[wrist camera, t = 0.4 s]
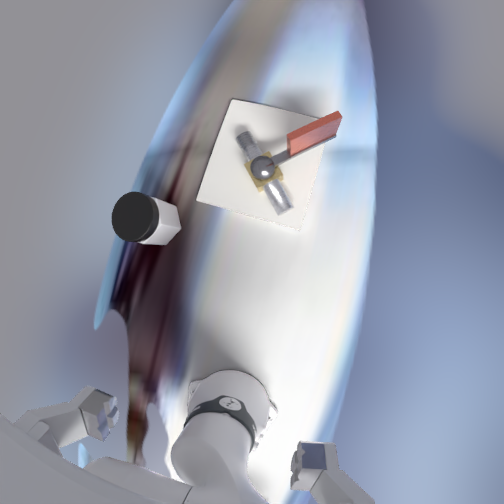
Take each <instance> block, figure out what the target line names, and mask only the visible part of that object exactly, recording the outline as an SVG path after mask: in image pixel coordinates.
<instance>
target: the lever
mask: <svg viewBox="0 0 504 504" xmlns="http://www.w3.org/2000/svg"><path fill="white" fill-rule="evenodd" d="M341 119H342V116H341V114H340V113H339V111H336V112H334V113H332V114H329V115H327V116H325V117H323V118H320V119H318V120H316V121H314V122H312V123H309V124H307V125H305V126H303V127H301V128H299V129H297V130H295V131H292V132H290V133H288V134H286V135H287V149H286V150H284V151H282V152H280V153H279V154H277V155H275V156H273V157H271V158H269V157H267V156H258V157H256V158H255V159H253V161H252V162H251V165H250V169H251V172H252V174H253V176H254V177H255V178H257V179H259V180H266V179H269V178H270V177H271V176H272V175H273V174H274V171H275V167H277V166H279V165H281V164H283V163H284V162H286V161H288V160H290V159H292V158H294V157H296V156H298V155H300V154H302V153H304V152H306V151H308V150H310V149H312V148H315V147H317V146H319V145H321V144H323V143H325V142H327V141H329V140H331V139H333V138H335V137H336V132H337V130H338V127H339V125H340V122H341Z"/></svg>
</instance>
